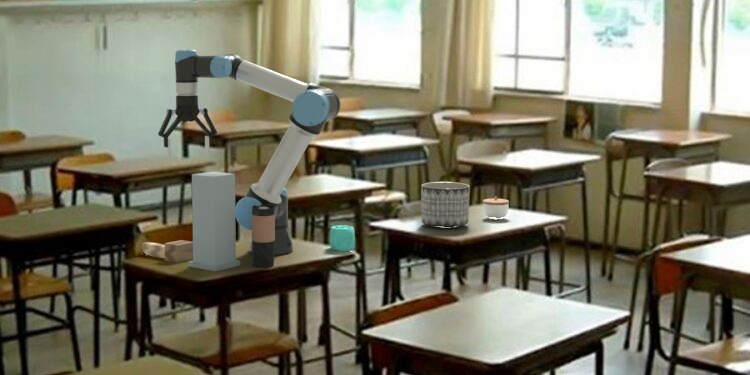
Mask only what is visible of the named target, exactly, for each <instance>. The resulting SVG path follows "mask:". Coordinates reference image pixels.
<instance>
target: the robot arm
mask: <svg viewBox="0 0 750 375" xmlns="http://www.w3.org/2000/svg"><path fill="white" fill-rule="evenodd" d="M174 55H175V58H174V60H175V61H174V68H175V70H174V71H175V94H176V96H175V109H171V108H167V109H166V114H165V115H166V116H165V118H164V120H163V122H162V125H161V127H160V128H159V131H158V133H157V135H158V136H159V137H162V138H163V146H164V148H166V157H168V158H171V156H172V147H171V145H172V144H171V141H172V140H171V137H169V136H171V135H172V133H173V132H174V131H175V129H176V128H177V127H178V126H179V124H180V123H181V122H183V123H186V122H195V123H196V124H197V125H198V126H199V128H200V129H201V130H202V131H203V132H204V134H206V135H205V136H204V152H205V153H204V155H205V156H210V146H212V145H213V136H215V135H217V134H218V131H217V129H216V128H215V124H214V123H213V122H212V120H211V118H210V115H209V114H208V113H209V112H208V109H207V108H206V107H203V108H199V96H198V95H197V94H198V93H199V86H198V85H199V84H198V78H199V79H200V78H203V79H205V78H206V79H207V78H209V79H226V78H230V79H233V80H236V81H239V82H241V83H244V84H246V85H248V86H251V87H254V88H255V89H256V88H257V89H260V90H261V91H264V92H266V93H269V94H271V95H274V96H275V97H276V96H277V97H279V98H281V99H284V100H287V101H289V102H292V106H291V108H292V109H291V113H290V115H289V116H288V120H289V121H288V122H289V126H288V127H287V130H286V132H285V133H284V135H283V137H282V139H281V141H280V142H279V144H278V146H277V147H276V149H275V151H274V153H273V154H272V157H271V159H270V160H269V162H268V163H267V166H266V167H265V169H264V171H263V173H262V175H261V176H260V178H259V179H258V181H257V182H256V183H252V184H251V185H250V187H249V189H248V191H247V193H246V194H245V196H244V197H242V198H241V199H239V200H238V201H237V203H236V204H235V220H236V221H237V223H238V224H239V225H240V226H241V227H242V228H244V229H245V230H248V231H252V206H254V205H255V206H260V205H262V204H269V205H273V206H274V207H275V249H274V256H277V255H285V254H286V253H287V254H290V253H292V252H293V251H294V250H293V249H294V247H293V246H294V244H293V241H292V238H291V235H290V232H289V230H288V229H289V227H288V226H289V225H288V223H289V221H288V220H289V211H288V209H289V205H288V204H289V196H288V189H287V188H285V187H286V185H287V183H288V181H289V179H290V178H291V176H292V174H293V173H294V170H295V169H296V167H297V165H298V164H299V162H300V160H301V158H302V156H303V154H304V152H305V151H306V149H307V148H308V146H309V145H310V142H311V140H312V138H314V137H317V136H319V135H320V134H321V132H322V130H323V129H324V126H326V123H327V122H330V121H332V120H334V119H335V118H336V117H337V116H338V115H339V114H340V112H341V111H340V110H341V105H342V104H341V99H340V97H339V95H338V93H336V91H334V90H333V89H331V88H328V87H325V86H322V85H319V84H317V83H314V82H310V83H306V82H302V81H300V80H298V79H295V78H292V77H289V76H286V75H284V74H281V73H279V72H276V71H274V70H272V69H269V68H266V67H264V66H260V65H258V64H256V63H253V62H250V61H248V60H245V59H243V58H242V57H240V55H238V54H233V53H227V54H221V55H218V54H217V55H198V51H197V50H196V49H177V50H176V51H175V54H174ZM199 114H201V115H202V116H203V118H204V120H205V122H206V124H207V125H208V127H206V125H205V124H204V123H203V121H201V119H200V118H199V117H198V116H199ZM174 115H176V117H175V119H174V120H173V122H172V123H171V125H170V126H169V127H168V125H169V124H170V121H171V119H172V116H174ZM249 252H250V253H252V240H251V242H250V245H249Z"/></svg>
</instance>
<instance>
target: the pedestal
mask: <svg viewBox="0 0 750 375" xmlns="http://www.w3.org/2000/svg"><path fill="white" fill-rule="evenodd" d="M191 193H192V194H191V201H192V202H191V203H192V208H191V209H192V211H191V212H192V242H193V259H192V260H190V261H188V267H189V268H190V267H191V268H195V269H200V270H205V271H210V272H211V271H212V272H218V271H223V270H226V269H227V270H228V269H232V268H235V267H240V266H241V260H237V252H236V250H237V246H236V245H237V244H236V241H237V240H236V239H237V238H236V236H237V232H236V227H237V226H236V216H235V207H236V174H235V173H228V172H220V171H207V172H202V173H201V172H199V173H194V174H191Z"/></svg>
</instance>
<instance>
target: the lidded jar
mask: <svg viewBox="0 0 750 375" xmlns="http://www.w3.org/2000/svg"><path fill="white" fill-rule="evenodd" d="M509 203H510V201H509V200H508V199H505V198H498V196H497V195H496V196H494V198H485V199H483V200H482V210H483V213H484V216H485V217H486V216H488V217H496V218H501V217H504V218H505V217H506V216H507V214H508V212H509V206H510V205H509Z"/></svg>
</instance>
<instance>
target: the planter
mask: <svg viewBox="0 0 750 375" xmlns="http://www.w3.org/2000/svg"><path fill="white" fill-rule="evenodd" d="M420 187H421V189H420V190H421V191H420V192H421V193H420V194H421V199H420V200H421V201H420V202H421V222H422V224H424V225H426V224H427V225H426V226H431V225H432V226H444V227H454V226H458V227H461V226H462V227H463V226H466V225H467V224H468V223H469V214H470V212H469V211H470V209H469V208H470V191H471V190H470V189H471V186H470V185H469V184H467V183H462V182H453V181H433V182H432V181H431V182H425V183H422V184H421V186H420ZM432 226H431V227H432Z"/></svg>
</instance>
